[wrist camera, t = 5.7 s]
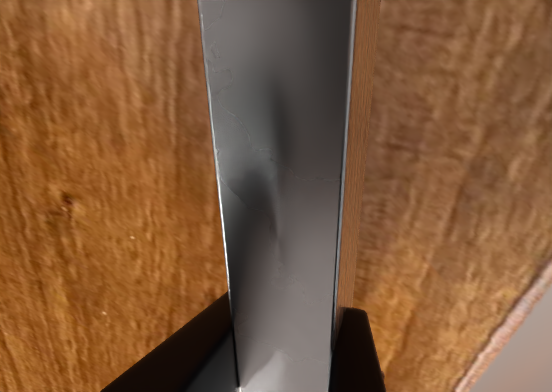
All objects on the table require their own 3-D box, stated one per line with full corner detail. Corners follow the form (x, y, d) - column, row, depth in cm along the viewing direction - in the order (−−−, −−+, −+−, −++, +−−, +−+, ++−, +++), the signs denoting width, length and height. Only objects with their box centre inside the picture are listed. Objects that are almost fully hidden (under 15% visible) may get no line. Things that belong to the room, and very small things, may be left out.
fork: (186, -237, 6) (73, -271, 4) (490, -260, 5) (504, -313, 4) (252, 460, 16) (225, 542, 14) (364, 493, 15) (351, 585, 13)
